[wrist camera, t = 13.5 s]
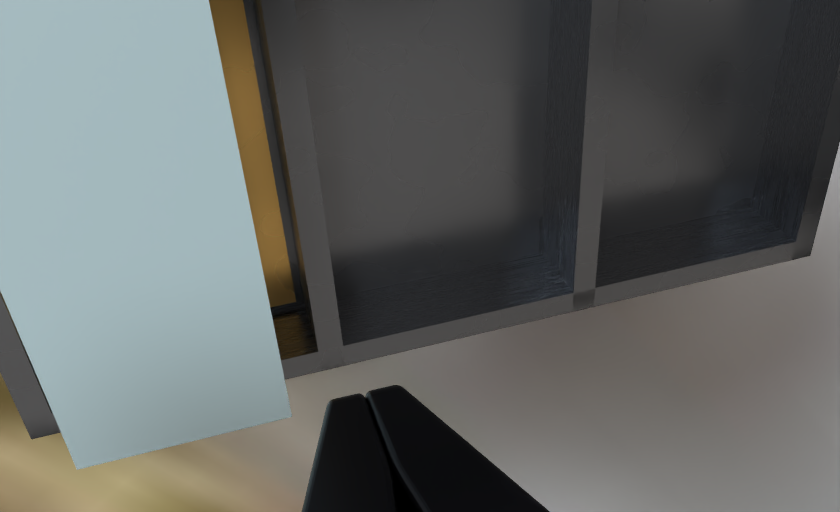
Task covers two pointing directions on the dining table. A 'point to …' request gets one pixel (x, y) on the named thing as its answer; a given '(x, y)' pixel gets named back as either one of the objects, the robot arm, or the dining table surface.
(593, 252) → the grey compartment tray
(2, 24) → the blanking panel
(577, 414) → the dining table surface
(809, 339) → the dining table surface
